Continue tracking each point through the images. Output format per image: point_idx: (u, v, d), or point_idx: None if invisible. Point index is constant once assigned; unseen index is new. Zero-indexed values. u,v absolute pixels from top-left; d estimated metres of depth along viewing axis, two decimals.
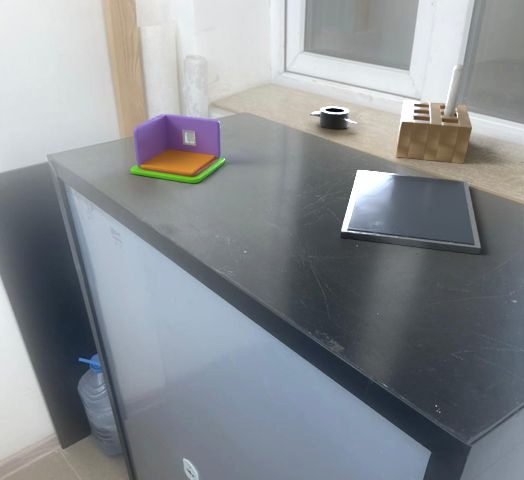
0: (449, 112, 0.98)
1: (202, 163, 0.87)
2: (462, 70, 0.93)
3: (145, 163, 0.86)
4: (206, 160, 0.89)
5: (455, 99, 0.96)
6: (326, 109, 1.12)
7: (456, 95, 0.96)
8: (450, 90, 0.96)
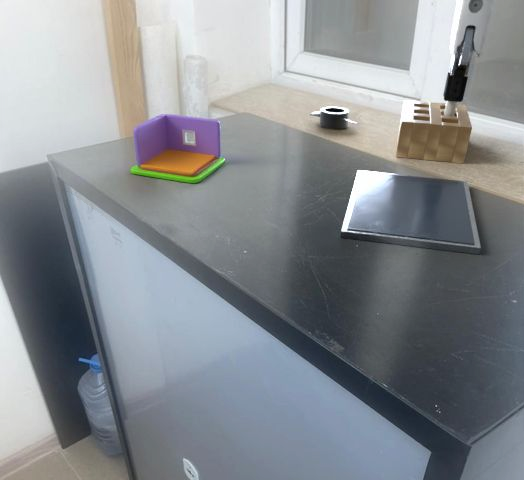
0: (449, 112, 0.97)
1: (202, 163, 0.87)
2: None
3: (145, 163, 0.86)
4: (206, 160, 0.89)
5: None
6: (326, 109, 1.12)
7: None
8: None
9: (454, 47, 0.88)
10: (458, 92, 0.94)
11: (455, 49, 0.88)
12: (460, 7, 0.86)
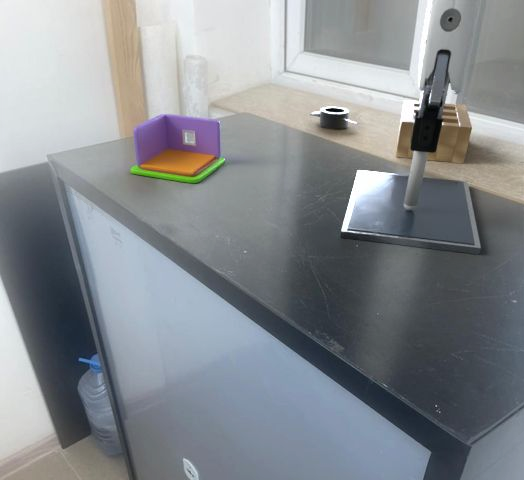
0: (418, 164, 0.71)
1: (202, 163, 0.87)
2: None
3: (145, 163, 0.86)
4: (206, 160, 0.89)
5: None
6: (326, 109, 1.12)
7: None
8: None
9: (421, 80, 0.62)
10: (429, 140, 0.67)
11: (422, 83, 0.62)
12: (429, 23, 0.59)
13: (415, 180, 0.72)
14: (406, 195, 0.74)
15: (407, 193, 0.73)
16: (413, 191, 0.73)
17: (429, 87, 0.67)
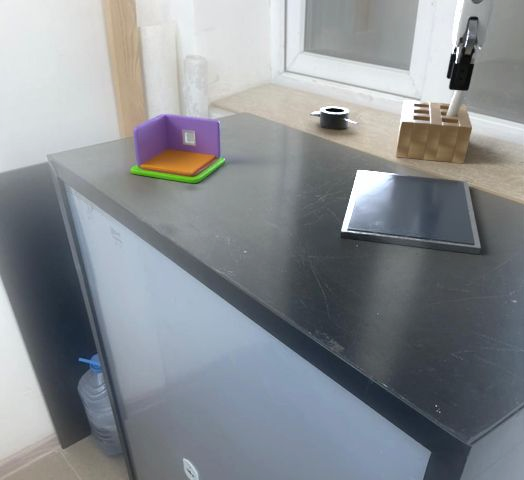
0: (452, 113, 0.97)
1: (202, 163, 0.87)
2: None
3: (145, 163, 0.86)
4: (206, 160, 0.89)
5: (460, 101, 0.96)
6: (326, 109, 1.12)
7: (461, 97, 0.96)
8: (456, 91, 0.96)
9: (456, 39, 0.88)
10: (464, 80, 0.90)
11: (457, 41, 0.88)
12: None
13: None
14: None
15: None
16: None
17: None
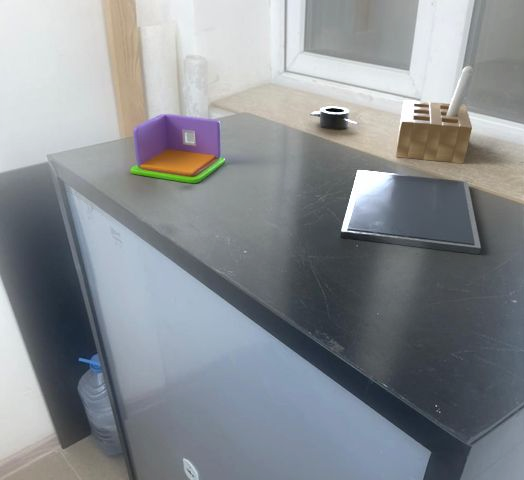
0: (452, 113, 0.97)
1: (202, 163, 0.87)
2: (471, 72, 0.93)
3: (145, 163, 0.87)
4: (206, 160, 0.89)
5: (460, 101, 0.96)
6: (326, 109, 1.12)
7: (461, 97, 0.96)
8: (456, 91, 0.96)
9: None
10: None
11: None
12: None
13: None
14: None
15: None
16: None
17: None
